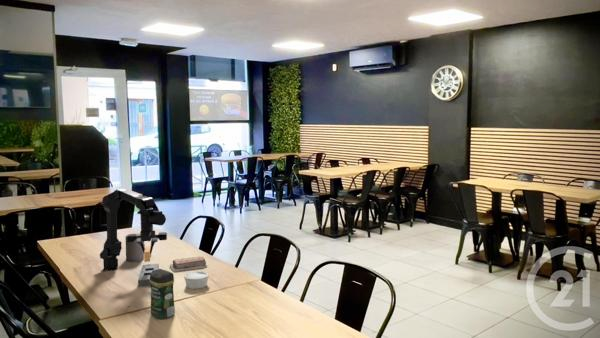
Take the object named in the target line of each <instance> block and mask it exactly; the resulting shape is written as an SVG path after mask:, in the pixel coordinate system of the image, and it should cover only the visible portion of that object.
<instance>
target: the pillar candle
mask: <svg viewBox="0 0 600 338" xmlns="http://www.w3.org/2000/svg"><path fill="white" fill-rule="evenodd" d="M135 234H136V236H140V233H135ZM128 235H129V234H126V235H125V261H126V262H131V263H136V262H142V261H144V252H143V250H142V247H141V246H140V244H139V243H137V240H135V241H134V242H127V236H128Z"/></svg>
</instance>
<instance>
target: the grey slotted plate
mask: <svg viewBox="0 0 600 338" xmlns="http://www.w3.org/2000/svg"><path fill="white" fill-rule="evenodd" d="M159 267H160V264H159V263H150V264H142V266H141V269H140V273H139V276H138V279H137V287H147V286H149V287H151V285H150V273H151V272H152V271H153V270H157V269H160V268H159Z"/></svg>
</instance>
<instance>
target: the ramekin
mask: <svg viewBox="0 0 600 338" xmlns="http://www.w3.org/2000/svg"><path fill="white" fill-rule="evenodd" d="M183 278H184V282H185V286H186V287H187V288H188V289H191V290H199V289H203V288H205V287H207V285H208V279H209V273H208V272H205V271H191V272H188V273H186V274H185V275H184V277H183Z"/></svg>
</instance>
